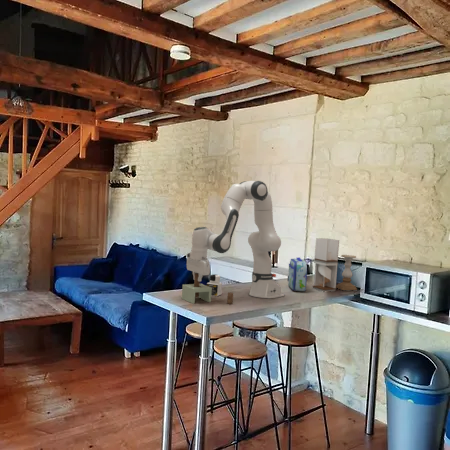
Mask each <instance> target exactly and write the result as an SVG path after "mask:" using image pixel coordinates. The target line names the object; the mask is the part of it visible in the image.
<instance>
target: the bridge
mask: <svg viewBox="0 0 450 450" xmlns="http://www.w3.org/2000/svg"><path fill="white" fill-rule="evenodd" d="M181 292H182V293H181V299H182V300H183V301H186V302H188V303H190V304H193V305H194V304H195V302H196V297H195V292H199V297H197V298H198V299H200V298H201V299H200V300H203V301H204V302H207V303H211V302H212V295H211V294H212V288H211V287H209V286H207V284H206V285H205V284H203V283H200V286H199V287H194V283H189V284H182V290H181Z"/></svg>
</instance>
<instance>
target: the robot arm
mask: <svg viewBox="0 0 450 450" xmlns="http://www.w3.org/2000/svg"><path fill="white" fill-rule="evenodd" d="M245 200H252V201H253V203H254V204H253V206H254V207H253V210H254V211H253V215H254V216H253V217H254V224H255V225H256V228H257V229H258V231H253V232H251V233H250V234H249V235H248V238H247V240H248V241H247V242H248V244H249V246H250V248H251V252H252V256H253V267H252V268H253V271H252V273H251V287H250V290H249V293H248V295H249V296H251V297H255V298H261V299H274V298H275V299H276V298H281V297H285V294H284V293H282V288H281V285H280V284H278V283H277V281H276V280H274V278H276V277H277V274H276V273H272V265H273V260H272V259H271V257H270V254H269V252H276V251H278V250H279V249H280V248H281V246H282V240H281V239H282V238H280V237H279V236H280V235H278V233H277V231H276V229H275V228H276V227H275V224H274V218H273V217H274V215H273V212H274V211H273V201H272V196H271V194H270V193H269V191H268V186H267V184H266V183H265V182H264V181H261V180H247V181H242V182H240V183H233V184H232V185H231V186H230V187H229V189H228V190H227V191H226V194H225V195H224V197H223V199H222V200H221V204H220V209H221V212H222V213H223V215H224V216H225V222H224V225H223V227H222V230H221V232H220V233H215V232H213V231H211V230H210V229H209V228H208V227H206V226H199V227H196V228H194V229H193V232H192V236H191V244H192V245H191V246H192V247H191V251H190V252H187V253H186V257H187V258H186V269H187V271H191V272H192V276H193V280H195V273H199V277H198V278H197V279H198V280H197V281H199V282H200V283H201V282H202V279H203V277H204V276H210V275H211V274H210V272H211V265H210V264H211V263H210V261H209V259H208V250H211V251H214V252H217V253H219V254H225V253H227V252H228V251H229V250H230V248H231V246H232V245H231V244H232V238H233V235H234V232H235V229H236V226H237V224H238V220H239V216H240V215H239V212H240V210H241V208H242V205H243V204H244V201H245Z"/></svg>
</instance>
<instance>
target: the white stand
mask: <svg viewBox="0 0 450 450" xmlns="http://www.w3.org/2000/svg"><path fill="white" fill-rule="evenodd" d="M339 247H340V239H335V238H325V237H324V238H323V237H321V238H320V237H319V238H317V237H316V238H315V246H314V248H315V249H314V259H313V261H314V262H313V263H314V279H313V285H312V287H311V288H312V289H313V290H315V291H319V292H322V291H323V293H326V292H325V291H331V292H336V289H337V288H336V285H337V277H338V276H337V274H338V262H339V261H338V260H339V249H340V248H339Z"/></svg>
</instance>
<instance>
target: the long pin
mask: <svg viewBox="0 0 450 450" xmlns="http://www.w3.org/2000/svg"><path fill="white" fill-rule="evenodd" d="M198 277H199V273H195V280H194V279H193V280H194V283H193V284H194V287H199V286H200V284H201V281H200V282H199V281H197V280H198V279H197V278H198ZM198 297H199V292H195V298H198Z"/></svg>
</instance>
